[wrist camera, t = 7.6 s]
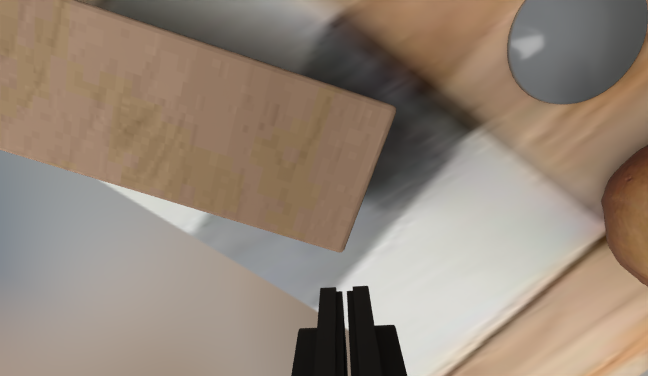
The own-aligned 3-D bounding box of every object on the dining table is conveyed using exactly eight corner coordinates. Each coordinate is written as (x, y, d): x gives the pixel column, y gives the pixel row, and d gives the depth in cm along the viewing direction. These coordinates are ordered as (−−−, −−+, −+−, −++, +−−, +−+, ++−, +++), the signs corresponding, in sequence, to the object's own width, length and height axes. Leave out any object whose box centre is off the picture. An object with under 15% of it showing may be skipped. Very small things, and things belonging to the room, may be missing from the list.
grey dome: (513, -28, 24) (517, -31, 23) (653, -43, 23) (662, -46, 23) (501, 108, 27) (505, 108, 26) (626, 98, 26) (632, 99, 26)
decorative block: (342, 255, 21) (-133, 111, 19) (341, 202, 30) (22, 103, 28) (399, 107, 18) (-158, -78, 16) (377, 100, 27) (24, -18, 26)
